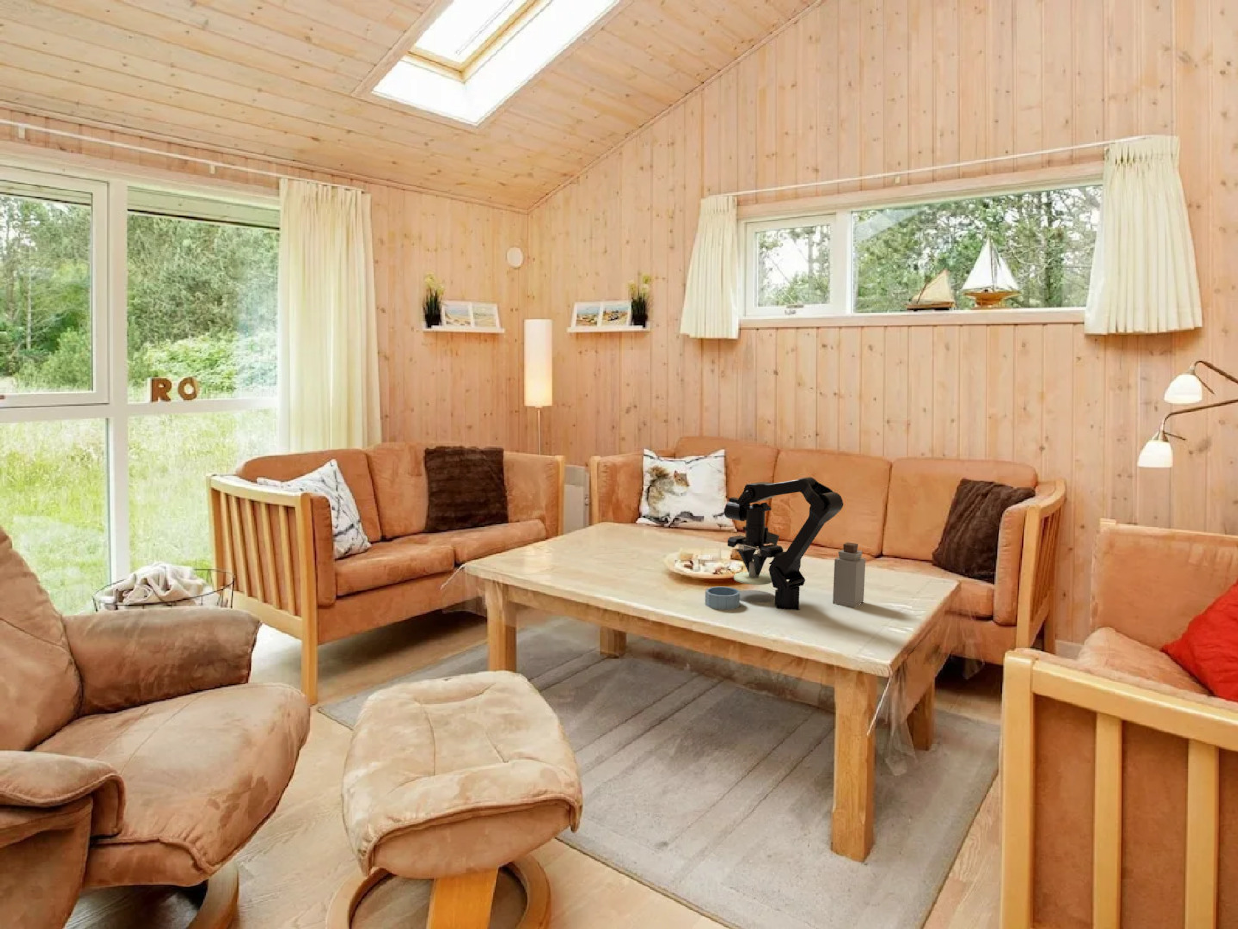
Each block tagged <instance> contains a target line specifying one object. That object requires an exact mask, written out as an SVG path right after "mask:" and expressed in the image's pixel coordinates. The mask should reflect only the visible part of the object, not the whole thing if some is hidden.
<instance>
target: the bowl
mask: <svg viewBox="0 0 1238 929" xmlns="http://www.w3.org/2000/svg"><path fill="white" fill-rule="evenodd" d="M740 591H741V590H739V589H738V588H734V587H730V586H721V585H719V586H711V587H709V588H706V589H705V598H704V604H705V606H706V607H709V608H711V609H715V610H734V609H737V608H739V607H740V604H741V601H740Z"/></svg>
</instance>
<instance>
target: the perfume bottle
mask: <svg viewBox="0 0 1238 929" xmlns="http://www.w3.org/2000/svg"><path fill="white" fill-rule="evenodd" d="M842 545H843V549H841V550H839V551H837V553H838V554H837V555H838V557H837V558H834V564H833V565H834V566H833V567H834V568H833V587H832V588H833V591H832V592H833V593H832V604H835V603H836V604H835V605H841V606H844V605H845V607H849V608H854V607H855V608H857V607H859V606H860V605H861V604H862V603H861V602H863V601H864V602H865V598H864V597H865V580H866V579H865V577H866V576H865V575H866V558H864V557H862V554H863V551H862V550H858V547H859V543H856V542H855V543H854V542H845V543H843V544H842ZM864 602H863V603H864ZM860 603H861V604H860ZM859 604H860V605H859Z"/></svg>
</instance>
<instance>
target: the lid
mask: <svg viewBox="0 0 1238 929" xmlns="http://www.w3.org/2000/svg"><path fill="white" fill-rule="evenodd" d="M733 579H734V581H735V582H738V583H741V584H743V585H744V584H745V585H752V586H753V585H754V586H756V585H757V586H762V585H763V586H765V585H769V584H772V580H771V576H770V573H765V572H760V574H759V575H756V572H755V567H754V561H750V562H749V572H748V571H740V572H737V573H735V574H733Z"/></svg>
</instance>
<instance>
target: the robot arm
mask: <svg viewBox="0 0 1238 929" xmlns="http://www.w3.org/2000/svg"><path fill="white" fill-rule="evenodd" d="M794 493H801V494H802V495H803V497H804V500H805V501H806V502H807V503H808V504H809V505H810V506H809V512H808V518H806V521H805V522H804V524H802V526H801V528H800V529H799V531H798V532H797V534H796V536H795V537H794V539H793V541H792V542H791V543H790V545H789V546H788V548H787V549H786V551H784V548H783V546H781V545H778V541H779V538H780V535H778V534H776V533H773V532H770V531H769V527H767V526H766V512H768V511H772V507H771V506H770V505H769V504H768V502H764V501H767V500H770V499H772V498H774V497H776V496H781V495H786V494H787V495H788V494H794ZM758 502H761V503H758ZM843 507H844V502H843V497H842V496H841V495H840V494H839V493H838V492H835V491H833V490H832V489H831V488H830V487H828V486H826V485H824V484H822V483H821V482H818V480H816V479H815V478H814V477H811V476H807V477H801V478H798V479H793V480H787V481H781V482H776V483H775V482H770V481H769V482H768V481H761V482H752V483H747V484H745V486H744V488H743V491H742V492H741V494H740V495H739V497H734V496H732V497H729V498H728V502H727V503H726V504H725V507H724V508H723V512H724V514H723V515H724V516H725V518H727V519H730V520H734V521H739V522H745V526H742V530H743V531H745V536H744V535H733V536H729V538H727V547H730V548H733V549H734V548H735V547H736V546H737V545H738V548H737V549H736V552H737V553H738V554H739V556H740V557H741V559H742V562H743V564H744V566H745V568H746V570H747V572H749V562H750V561H754V567H755V572H756V575H759V574H760V572H761V571H762V569H763V567H764V565H765V563H766V560H767V559H768V558H770V559H772V558H773V559H772V560H771V562H769V563H768V564H769V567H768V572H769V573H768V574H770V576H771V580H772V583H771V585H772V587H773V588H774V596H775V599H774V605H775V606H776V609H777V610H787V611H788V610H790V611H791V610H792V611H800V587H801V586H802V587H803V586H804V584H805V582H806V578H805V577H804V575H803V574H802V572H801V571H800V569H801V563H802V562H801V561H802V558H803V557H804V555H805V554H806V552H807V550H808V549H809V548H810V546H811V545H812V543H813V542H814V540H815V539H816V537H817V536H818V534H819V533H820V531H821V530H822V528H823V527H824V525H825V524H826V523H827V522H829V521H830V520H831V519H832V518H834V517H835V516H837V514H838V513H839V512H840V511H842V509H843ZM756 551H757V552H756Z"/></svg>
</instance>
